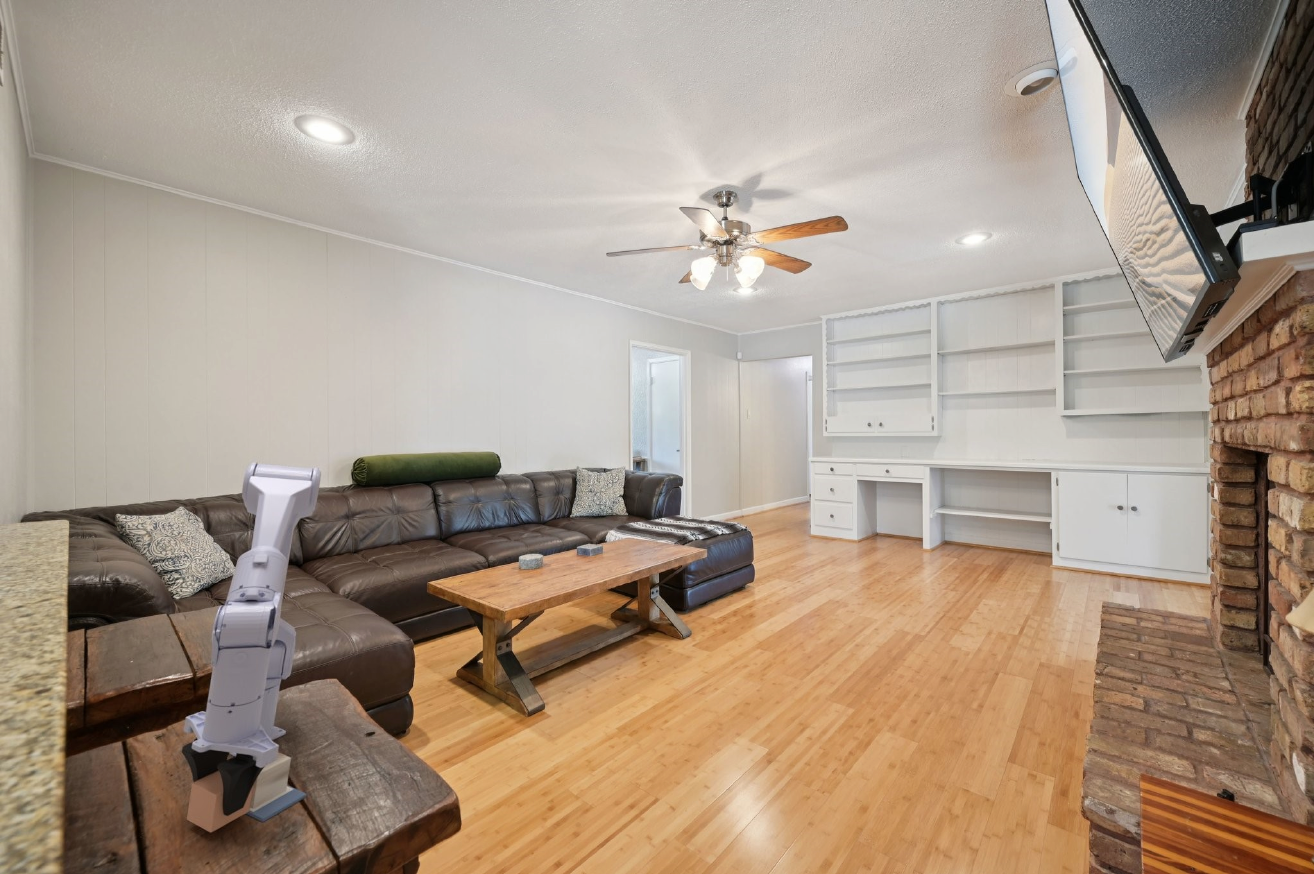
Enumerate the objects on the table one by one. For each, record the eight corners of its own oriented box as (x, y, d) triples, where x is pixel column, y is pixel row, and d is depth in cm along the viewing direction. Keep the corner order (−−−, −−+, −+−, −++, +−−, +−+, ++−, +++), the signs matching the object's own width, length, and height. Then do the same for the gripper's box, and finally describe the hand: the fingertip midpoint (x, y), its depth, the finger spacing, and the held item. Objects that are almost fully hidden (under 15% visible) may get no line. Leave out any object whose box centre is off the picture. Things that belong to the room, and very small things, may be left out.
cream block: (230, 796, 74) (235, 763, 74) (263, 779, 78) (268, 747, 78) (252, 808, 72) (258, 774, 72) (286, 790, 76) (291, 757, 77)
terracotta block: (186, 819, 68) (192, 783, 68) (225, 799, 72) (230, 764, 72) (210, 832, 67) (216, 795, 67) (249, 811, 71) (254, 776, 71)
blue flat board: (211, 796, 74) (211, 792, 74) (256, 773, 80) (257, 770, 80) (262, 822, 71) (263, 818, 71) (306, 796, 76) (306, 793, 76)
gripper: (163, 691, 68) (146, 801, 68) (242, 726, 63) (224, 845, 63) (224, 672, 75) (208, 772, 75) (300, 702, 70) (284, 809, 70)
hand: (220, 803), depth 69 cm, fingers closed on terracotta block, 4 cm apart
